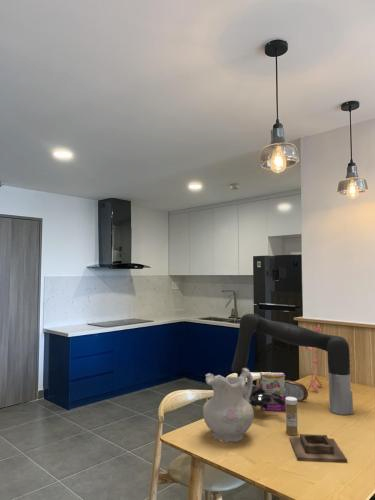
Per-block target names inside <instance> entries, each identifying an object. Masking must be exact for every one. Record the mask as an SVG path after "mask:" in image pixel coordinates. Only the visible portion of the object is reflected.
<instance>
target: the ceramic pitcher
mask: <svg viewBox="0 0 375 500" xmlns="http://www.w3.org/2000/svg"><path fill="white" fill-rule="evenodd" d="M228 377H229V378H227V377H224V376H222V375H220V374H217V375H214V374H213V373H210V372H209V373H206V374H205V382H206V384H207V385H209V386H211V387H212V391H213V395H212V396H211V398H210V399H208V400H207V401H206V402H205V403H204V405H203V406H202V407H203V408H202V414H203V415H202V416H203V419H204V423H205V425H206V426H207V427H208V429H209V430H210V431H212V432H213V433H212V434H211V435H210V438H212V439H214V440H218V441H220V442H221V441H222V442H224V443H239V442H241V441H242V440H243V439H244V433H247V431H248V430H249V429H250V427H251V426H252V423H253V421H254V415H255V412H254V409H253V405H251V404H249V397H250V395H251V391H252V385H254V383H253V382H254V380H253V379H254V378H253V374H252V373H251V372H250V369H249V368H248V367H246V368H245V369H244V368H242V373H241V375H240V376H239V377H237V376H228ZM246 379H247V383H248V387H247V390H246V395H245V398H244V397H243V394H242V393H243V388H244V386H245V382H246Z"/></svg>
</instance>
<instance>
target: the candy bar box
mask: <svg viewBox="0 0 375 500" xmlns="http://www.w3.org/2000/svg"><path fill="white" fill-rule="evenodd" d="M259 379H260V380H259V381H260V382H259V383H260V388H262V389H263V390H264V391H265V393H267V394H270V395H272V393H275V394H277V395H280V396H282V400H284V406H282V405H280V404H278V403H273V404H271V403H267V404H268V408H267V409H265V408H263V407H260V409H261V411H262V412H263V411H265V412H286V403H285V398H286V392H285V380H286V375H285V373H284V372H265V371H264V372H263V371H261V372H260V378H259ZM270 401H272V398H270ZM274 401H276V400H274Z"/></svg>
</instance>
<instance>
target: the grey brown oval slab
mask: <svg viewBox="0 0 375 500" xmlns="http://www.w3.org/2000/svg"><path fill="white" fill-rule="evenodd" d="M308 391H309V390H308V388H307V387H306V386H305V385H304V384H303V383H300V382H297V381H293V380H289V379H285V392H286V397H295V398H297V402H302V401H305V400H307V399H308V396H309V392H308Z"/></svg>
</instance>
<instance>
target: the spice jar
mask: <svg viewBox="0 0 375 500" xmlns="http://www.w3.org/2000/svg"><path fill="white" fill-rule="evenodd" d="M285 403H286V411H285V428H286V430H285V433H286V434H287V435H290V436H297V435H298V434H299V433H298V401H297V398H295V397H286V398H285Z"/></svg>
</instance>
